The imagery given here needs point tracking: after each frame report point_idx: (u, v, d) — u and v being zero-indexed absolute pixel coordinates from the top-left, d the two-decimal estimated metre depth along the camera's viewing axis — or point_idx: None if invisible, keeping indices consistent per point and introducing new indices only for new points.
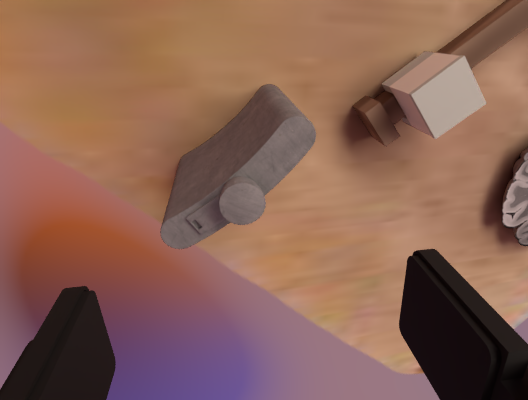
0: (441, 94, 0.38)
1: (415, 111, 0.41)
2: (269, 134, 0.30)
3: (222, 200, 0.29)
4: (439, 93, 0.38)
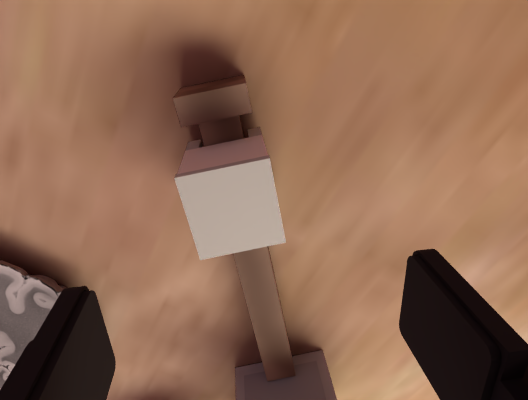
0: (247, 201, 0.24)
1: (228, 159, 0.24)
2: None
3: None
4: (249, 199, 0.24)
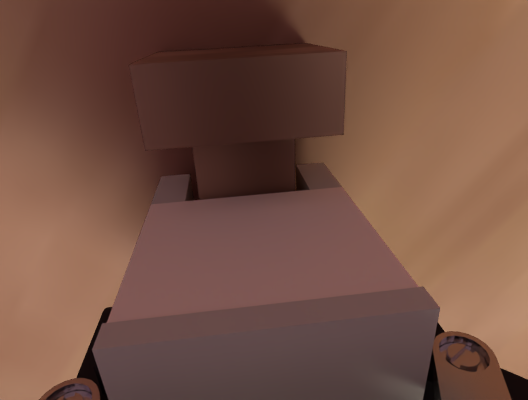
0: None
1: (279, 272, 0.08)
2: None
3: None
4: None
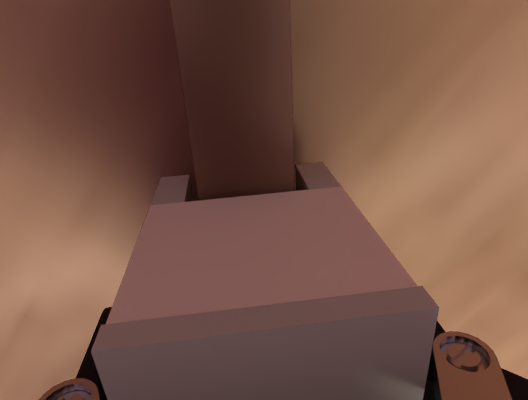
0: None
1: (278, 273, 0.08)
2: None
3: None
4: None
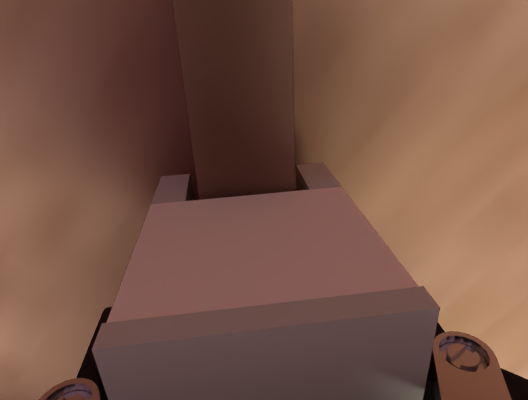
0: None
1: (279, 272, 0.08)
2: None
3: None
4: None
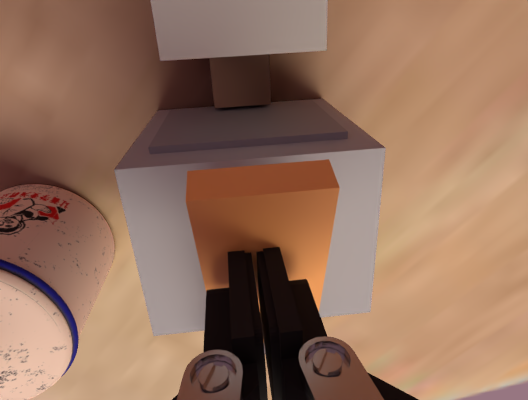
0: None
1: None
2: None
3: None
4: None
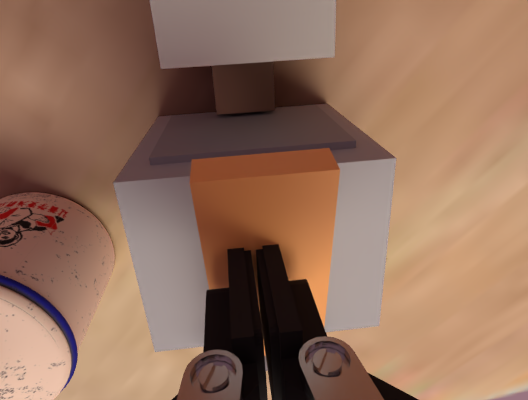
0: None
1: None
2: None
3: None
4: None
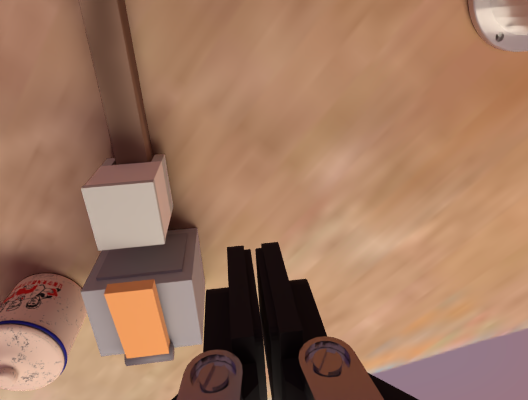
0: (135, 211, 0.33)
1: (125, 178, 0.33)
2: None
3: None
4: (137, 209, 0.33)
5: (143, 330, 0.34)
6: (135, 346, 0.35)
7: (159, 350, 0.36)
